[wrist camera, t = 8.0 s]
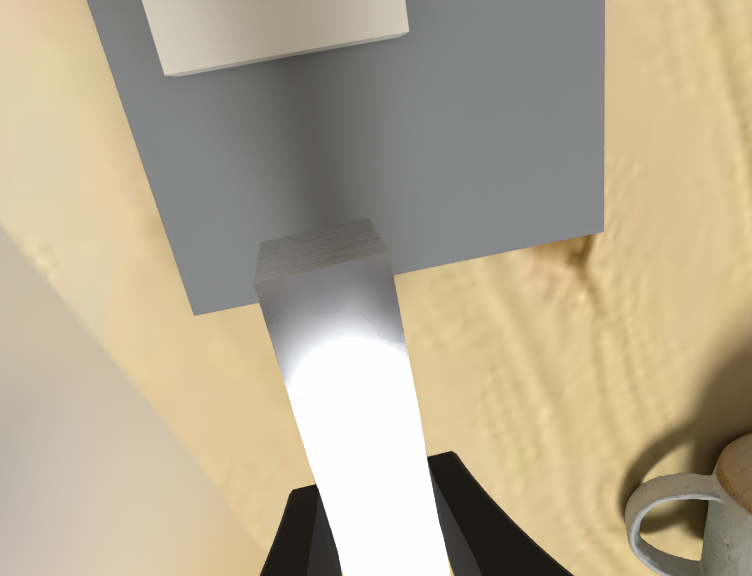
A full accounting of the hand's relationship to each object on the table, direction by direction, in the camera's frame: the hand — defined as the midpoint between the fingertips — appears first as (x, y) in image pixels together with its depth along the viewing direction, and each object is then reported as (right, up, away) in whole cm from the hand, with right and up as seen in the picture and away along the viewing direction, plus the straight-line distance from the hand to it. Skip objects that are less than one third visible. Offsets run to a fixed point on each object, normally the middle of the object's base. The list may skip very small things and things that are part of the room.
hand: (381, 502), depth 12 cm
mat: (0, +13, +5) cm, 14 cm away
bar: (0, +1, +2) cm, 2 cm away
